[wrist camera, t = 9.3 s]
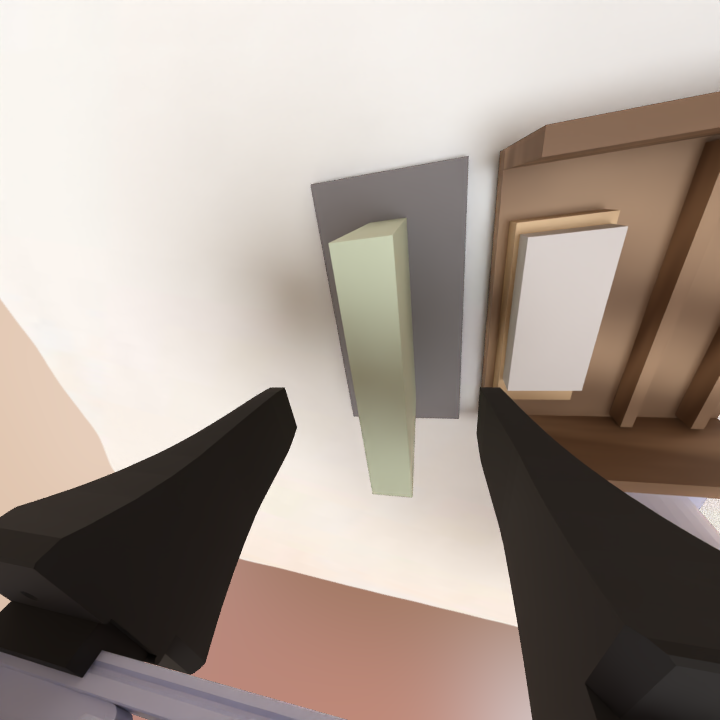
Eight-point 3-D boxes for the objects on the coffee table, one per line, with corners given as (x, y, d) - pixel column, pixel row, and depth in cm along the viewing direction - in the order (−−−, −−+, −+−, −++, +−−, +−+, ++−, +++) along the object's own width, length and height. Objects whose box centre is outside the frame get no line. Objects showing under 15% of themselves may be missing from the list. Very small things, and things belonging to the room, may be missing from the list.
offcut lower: (561, 388, 18) (570, 399, 17) (492, 388, 19) (496, 399, 18) (604, 209, 13) (620, 210, 12) (510, 221, 14) (516, 222, 13)
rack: (697, 417, 18) (805, 504, 13) (479, 413, 21) (496, 483, 16) (880, 83, 11) (1308, -23, 5) (500, 151, 14) (546, 125, 8)
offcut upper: (571, 378, 16) (581, 390, 15) (502, 379, 17) (507, 390, 16) (611, 223, 12) (628, 226, 11) (519, 234, 13) (528, 237, 12)
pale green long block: (416, 399, 21) (412, 497, 14) (388, 398, 21) (372, 493, 15) (406, 217, 15) (392, 234, 8) (369, 222, 16) (328, 243, 9)
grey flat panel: (457, 413, 21) (458, 418, 21) (355, 411, 23) (353, 416, 23) (467, 157, 14) (468, 155, 13) (314, 184, 16) (310, 184, 15)
